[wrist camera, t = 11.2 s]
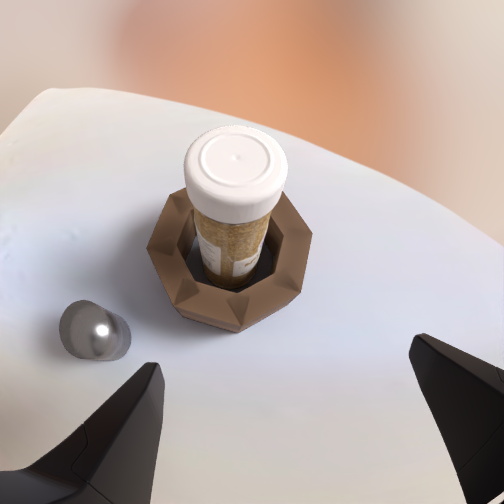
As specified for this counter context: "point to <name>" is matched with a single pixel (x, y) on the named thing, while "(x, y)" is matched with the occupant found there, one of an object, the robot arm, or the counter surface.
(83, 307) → the short metal stub
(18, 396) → the counter surface
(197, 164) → the sprinkles bottle
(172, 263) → the walnut collar
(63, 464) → the robot arm
